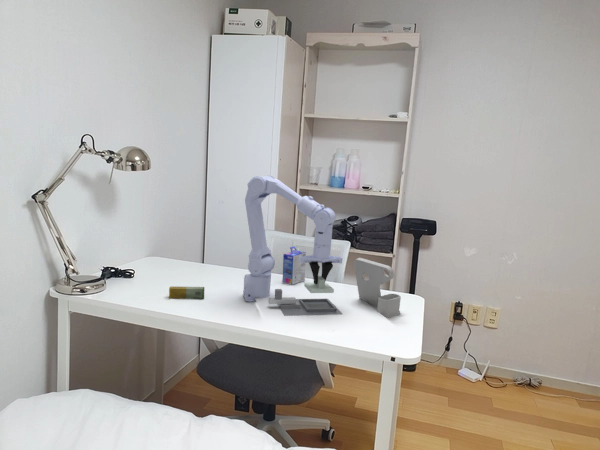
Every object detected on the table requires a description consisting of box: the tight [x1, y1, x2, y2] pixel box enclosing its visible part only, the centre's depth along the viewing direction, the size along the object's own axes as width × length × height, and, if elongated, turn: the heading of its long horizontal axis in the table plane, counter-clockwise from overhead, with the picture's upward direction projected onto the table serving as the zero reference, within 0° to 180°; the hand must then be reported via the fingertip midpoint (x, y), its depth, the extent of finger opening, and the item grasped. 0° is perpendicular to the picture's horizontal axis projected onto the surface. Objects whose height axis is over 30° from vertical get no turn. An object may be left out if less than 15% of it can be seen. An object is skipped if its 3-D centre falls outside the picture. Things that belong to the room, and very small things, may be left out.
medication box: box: [168, 286, 205, 300], centre depth 162 cm, size 12×3×4 cm, turn 99°
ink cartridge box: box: [282, 246, 307, 286], centre depth 191 cm, size 10×6×14 cm, turn 148°
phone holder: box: [353, 257, 401, 319], centre depth 164 cm, size 17×10×18 cm, turn 43°
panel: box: [276, 298, 343, 317], centre depth 158 cm, size 20×16×3 cm
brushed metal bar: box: [268, 288, 297, 305], centre depth 155 cm, size 9×2×4 cm, turn 105°
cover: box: [303, 274, 335, 294], centre depth 157 cm, size 8×8×4 cm
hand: (319, 283), depth 157 cm, fingers closed on cover, 2 cm apart
